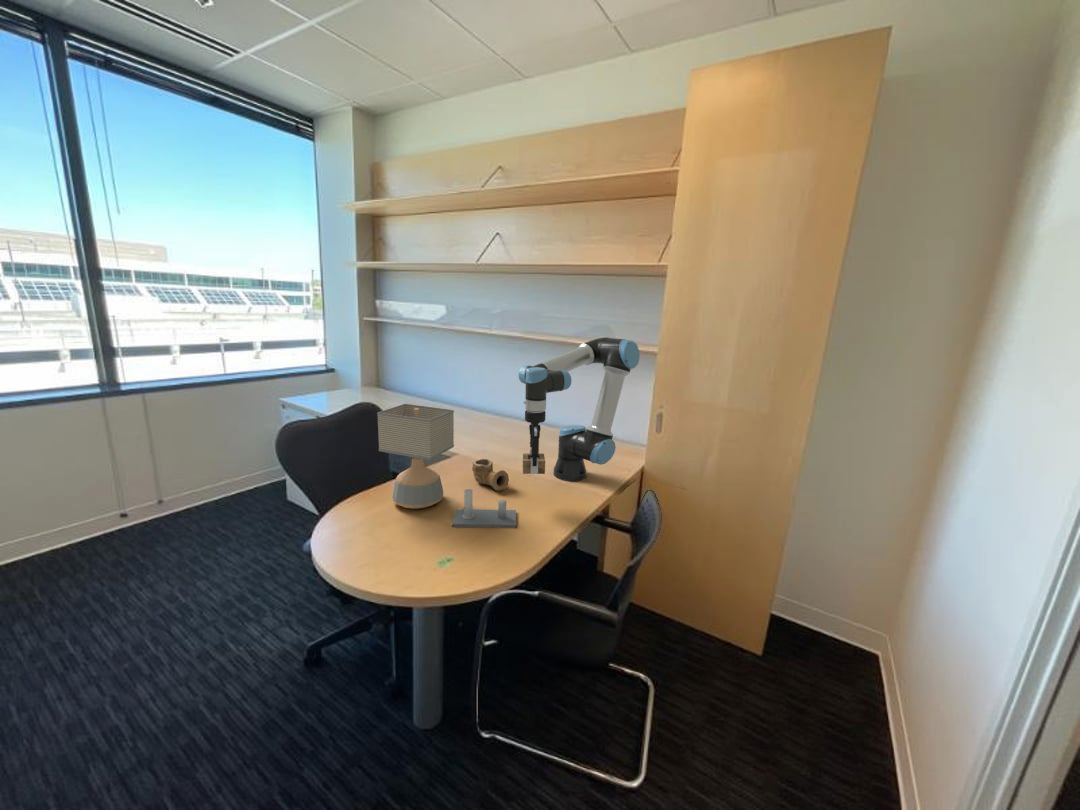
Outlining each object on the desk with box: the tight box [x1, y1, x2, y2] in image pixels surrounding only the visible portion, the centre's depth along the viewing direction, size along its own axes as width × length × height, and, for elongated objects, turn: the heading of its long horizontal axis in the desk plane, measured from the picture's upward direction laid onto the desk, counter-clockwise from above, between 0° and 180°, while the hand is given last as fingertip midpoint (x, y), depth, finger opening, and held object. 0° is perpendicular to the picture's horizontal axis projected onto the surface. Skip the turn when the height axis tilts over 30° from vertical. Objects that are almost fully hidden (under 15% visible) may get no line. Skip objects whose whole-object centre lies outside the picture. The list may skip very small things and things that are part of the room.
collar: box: [522, 452, 546, 475], centre depth 161 cm, size 8×8×5 cm
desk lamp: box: [376, 403, 455, 510], centre depth 162 cm, size 22×19×37 cm
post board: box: [451, 488, 517, 528], centre depth 153 cm, size 22×11×11 cm, turn 93°
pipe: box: [471, 458, 510, 492], centre depth 182 cm, size 9×16×10 cm, turn 53°
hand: (533, 468), depth 162 cm, fingers closed on collar, 8 cm apart
